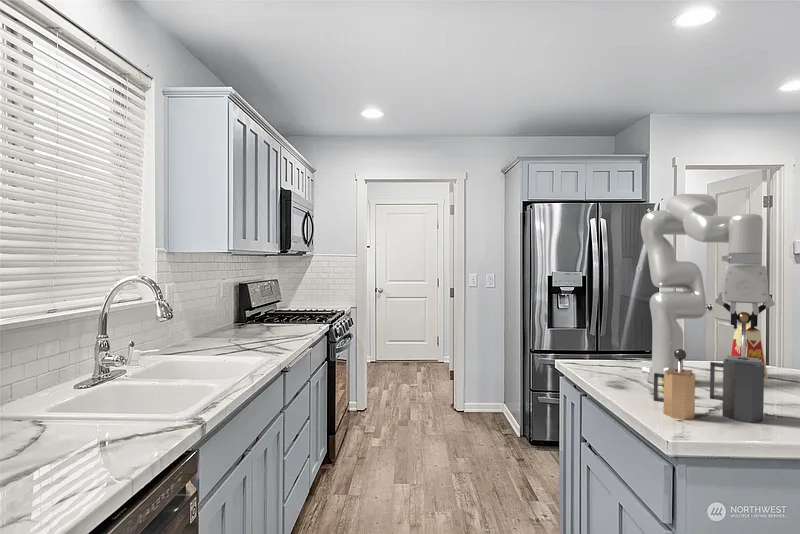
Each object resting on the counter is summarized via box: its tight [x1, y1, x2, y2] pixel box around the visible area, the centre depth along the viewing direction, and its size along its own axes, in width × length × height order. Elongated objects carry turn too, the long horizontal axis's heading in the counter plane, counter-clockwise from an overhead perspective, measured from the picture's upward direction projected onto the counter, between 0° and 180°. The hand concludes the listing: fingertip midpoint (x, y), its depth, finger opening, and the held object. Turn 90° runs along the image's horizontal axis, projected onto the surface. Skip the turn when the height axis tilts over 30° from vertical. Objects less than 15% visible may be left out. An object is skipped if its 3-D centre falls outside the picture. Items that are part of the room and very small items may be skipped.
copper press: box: [653, 368, 696, 420], centre depth 139 cm, size 10×7×12 cm
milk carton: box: [730, 322, 769, 380], centre depth 188 cm, size 9×9×20 cm
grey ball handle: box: [674, 349, 687, 372], centre depth 138 cm, size 3×3×17 cm
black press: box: [709, 354, 765, 424], centre depth 138 cm, size 12×9×16 cm
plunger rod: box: [737, 311, 751, 360], centre depth 137 cm, size 3×3×21 cm
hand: (743, 328), depth 137 cm, fingers closed on plunger rod, 3 cm apart
